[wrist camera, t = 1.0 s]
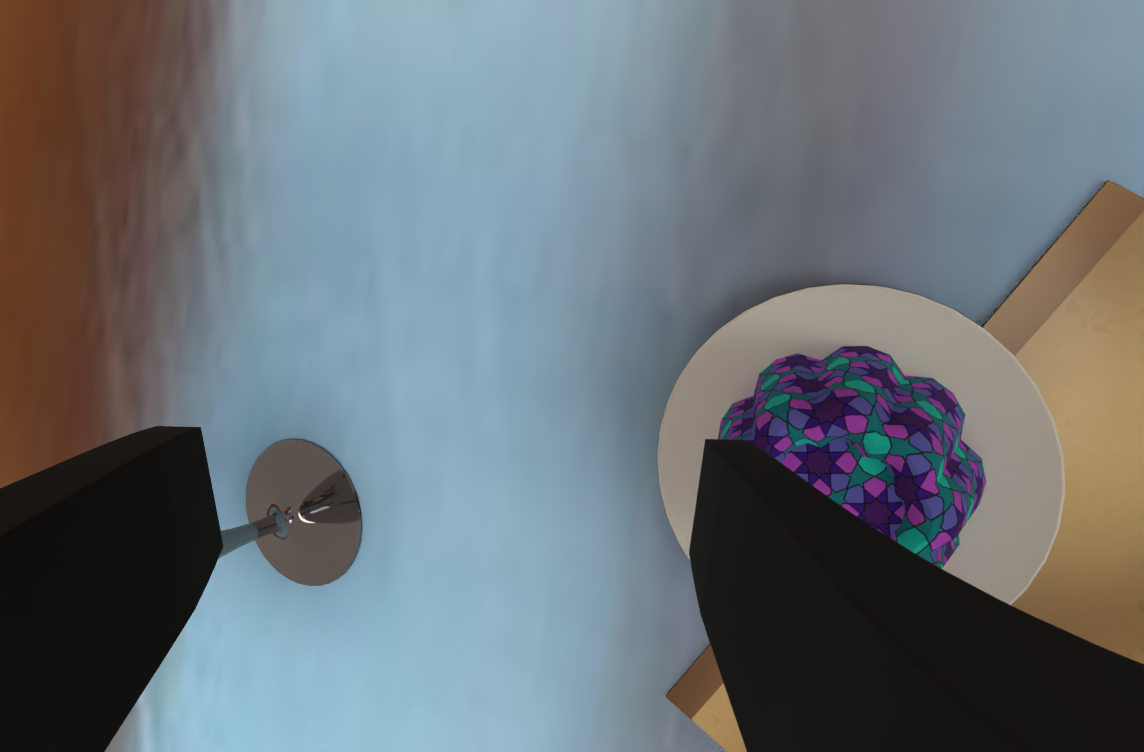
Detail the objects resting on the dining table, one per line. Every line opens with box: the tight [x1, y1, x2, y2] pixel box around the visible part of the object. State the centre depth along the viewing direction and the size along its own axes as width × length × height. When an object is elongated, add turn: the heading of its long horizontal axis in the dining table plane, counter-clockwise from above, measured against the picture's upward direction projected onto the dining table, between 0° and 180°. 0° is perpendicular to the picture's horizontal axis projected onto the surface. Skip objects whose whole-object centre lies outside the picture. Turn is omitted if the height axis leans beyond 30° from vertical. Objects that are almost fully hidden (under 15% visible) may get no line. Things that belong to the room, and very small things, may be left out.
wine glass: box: [218, 439, 362, 586], centre depth 26 cm, size 8×8×15 cm
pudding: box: [658, 284, 1065, 605], centre depth 20 cm, size 12×12×5 cm
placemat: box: [666, 180, 1144, 752], centre depth 20 cm, size 15×22×1 cm
